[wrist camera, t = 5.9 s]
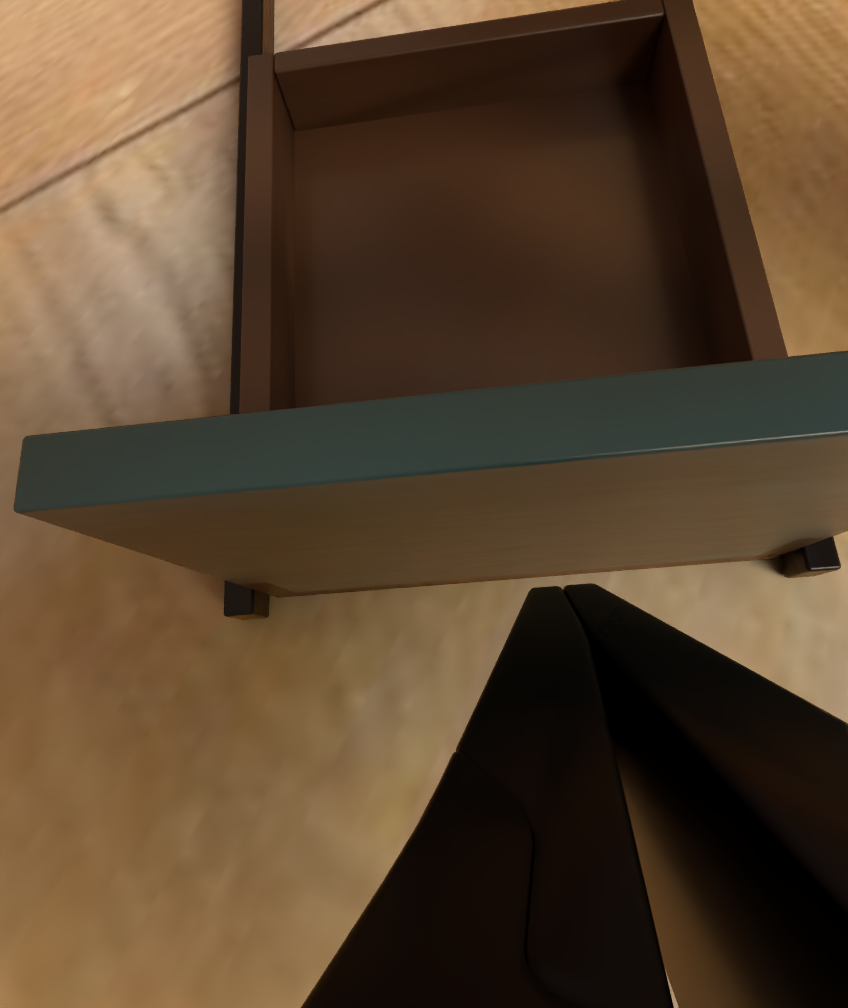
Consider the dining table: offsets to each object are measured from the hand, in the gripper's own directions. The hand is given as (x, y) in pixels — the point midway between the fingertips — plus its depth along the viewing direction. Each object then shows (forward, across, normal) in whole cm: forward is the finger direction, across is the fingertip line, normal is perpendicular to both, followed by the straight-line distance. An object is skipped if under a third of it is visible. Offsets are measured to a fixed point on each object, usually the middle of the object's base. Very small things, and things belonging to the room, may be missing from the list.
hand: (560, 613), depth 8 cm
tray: (+12, 0, +1) cm, 12 cm away
